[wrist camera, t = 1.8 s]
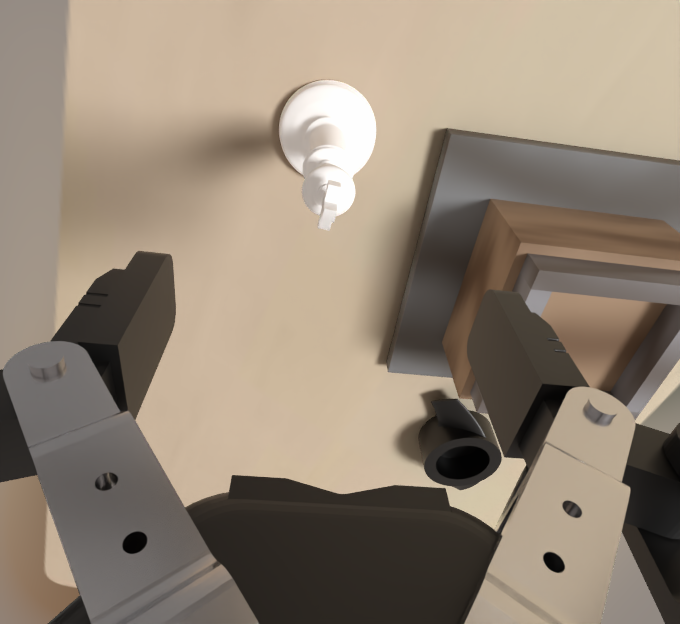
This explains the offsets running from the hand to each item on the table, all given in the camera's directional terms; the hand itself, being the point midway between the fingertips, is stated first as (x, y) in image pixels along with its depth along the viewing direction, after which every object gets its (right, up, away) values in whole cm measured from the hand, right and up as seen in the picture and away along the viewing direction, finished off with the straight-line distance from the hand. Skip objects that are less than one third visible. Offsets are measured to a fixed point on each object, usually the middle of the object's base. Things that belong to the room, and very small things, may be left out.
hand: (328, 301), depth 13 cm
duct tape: (+9, -10, +27) cm, 30 cm away
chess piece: (0, +9, +12) cm, 15 cm away
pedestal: (+13, +2, +18) cm, 22 cm away
